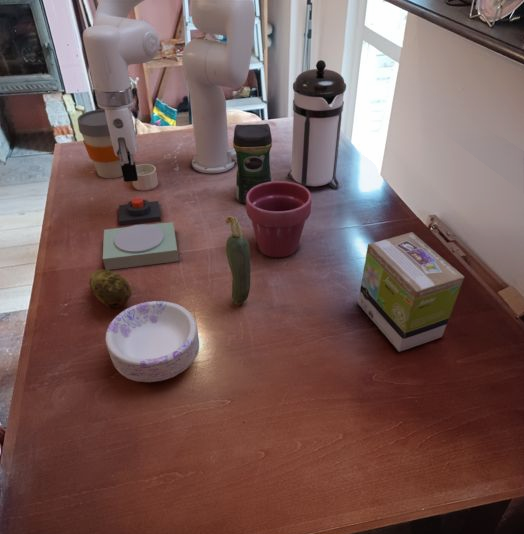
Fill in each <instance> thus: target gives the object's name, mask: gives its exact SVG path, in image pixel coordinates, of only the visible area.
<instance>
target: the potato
mask: <svg viewBox="0 0 524 534" xmlns="http://www.w3.org/2000/svg"><path fill="white" fill-rule="evenodd" d="M88 284H89V288H90V291H91V292H92V294H93V295H94V296H95V297H96V298H97V300H98V301H99V302H101V303H102V304H103V305H104V306H106V308H107V309H110V310H115V309H116V308H121V307H123V306H124V305H125V304H126V303H127V302H128V301H129V299H130V298H131V297H132V288H131V285H130V283H129V281H128V280H126V278H125V277H124V276H122V275H120V273H116V272H115V271H112V270H106V269H104V268H100V269H96V270H94V271H93V272H92V273H91V275H90V277H89V283H88Z"/></svg>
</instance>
